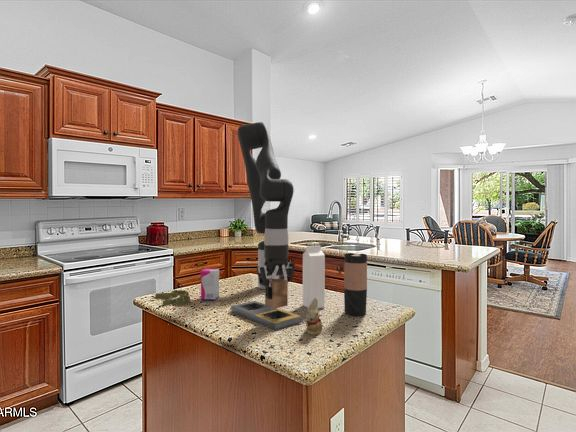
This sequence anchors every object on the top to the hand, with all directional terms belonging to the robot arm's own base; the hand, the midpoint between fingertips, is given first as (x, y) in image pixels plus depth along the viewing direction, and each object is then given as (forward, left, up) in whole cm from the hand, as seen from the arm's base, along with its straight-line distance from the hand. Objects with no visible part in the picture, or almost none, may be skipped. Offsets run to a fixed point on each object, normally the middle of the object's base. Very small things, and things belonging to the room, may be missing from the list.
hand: (276, 296), depth 110 cm
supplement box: (+2, -38, -8) cm, 39 cm away
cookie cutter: (+13, -46, -8) cm, 49 cm away
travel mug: (-26, +11, -8) cm, 29 cm away
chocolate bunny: (-3, +14, -8) cm, 16 cm away
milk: (-21, -4, -8) cm, 23 cm away
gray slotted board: (0, -6, -8) cm, 10 cm away
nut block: (0, 0, -3) cm, 3 cm away
